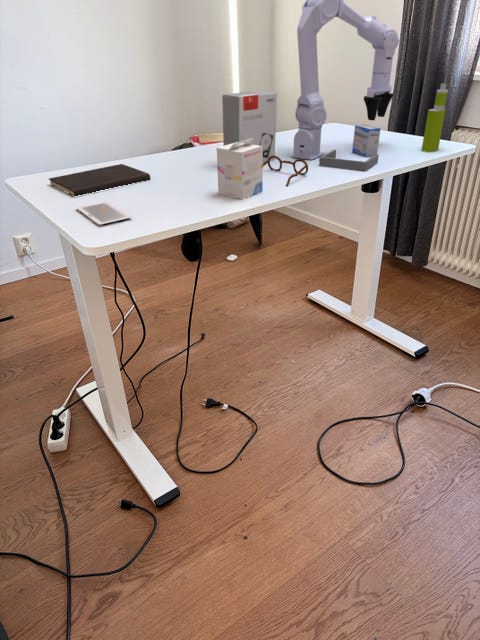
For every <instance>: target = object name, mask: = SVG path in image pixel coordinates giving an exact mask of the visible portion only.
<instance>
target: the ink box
mask: <svg viewBox="0 0 480 640" xmlns="http://www.w3.org/2000/svg"><path fill="white" fill-rule="evenodd" d="M253 139H254V138H250V139H247V140H244V141H240V142H236V143H232V144H228V145H225V146H223V145H222V146H218V147H216V163H217V167H216V168H217V193H218V194H219V193H220V195H222V194H224V195H223V196H226V195H228V196H227V197H230V196H233V197H232V198H234V197H237V198H236V199H238V198H241V199H240V200H244V199H243V198H245V199H247V198H246V197H248V196H250V197H252V196H254V195H253V194H255V195H257V194H259V193H262V192H263V190H264V189H263V181H264V180H263V167H264V166H263V163H264V162H263V146H259V145H252V144H250V143H251V141H252V140H253ZM243 142H245V143H243ZM261 191H262V192H261ZM258 192H259V193H258ZM256 193H257V194H256ZM251 195H252V196H251ZM248 198H249V197H248Z"/></svg>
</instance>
